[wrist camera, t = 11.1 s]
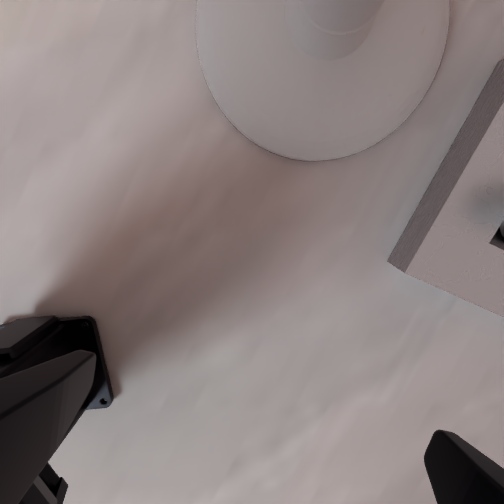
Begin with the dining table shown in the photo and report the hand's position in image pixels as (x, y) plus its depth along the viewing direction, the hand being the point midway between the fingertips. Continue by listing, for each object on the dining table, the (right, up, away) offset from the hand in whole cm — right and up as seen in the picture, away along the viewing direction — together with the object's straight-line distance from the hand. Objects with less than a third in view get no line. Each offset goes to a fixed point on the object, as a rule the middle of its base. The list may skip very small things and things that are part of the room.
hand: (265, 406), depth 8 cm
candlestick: (+3, +15, +9) cm, 18 cm away
